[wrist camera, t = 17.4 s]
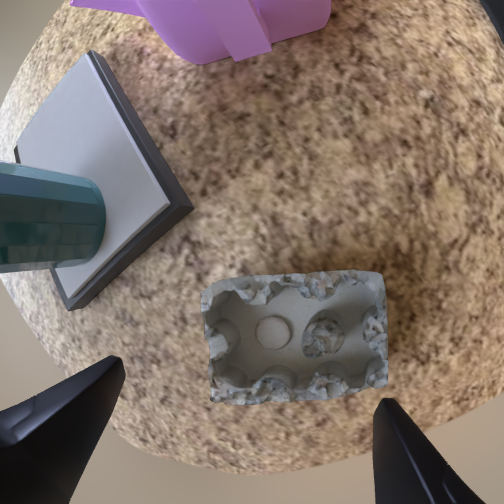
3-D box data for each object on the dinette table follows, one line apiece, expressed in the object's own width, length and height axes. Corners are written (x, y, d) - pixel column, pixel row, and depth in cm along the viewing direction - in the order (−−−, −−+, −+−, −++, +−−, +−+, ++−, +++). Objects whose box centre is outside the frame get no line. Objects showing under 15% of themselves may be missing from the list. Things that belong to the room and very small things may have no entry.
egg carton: (226, 379, 21) (201, 405, 17) (215, 273, 21) (185, 281, 17) (383, 379, 18) (389, 410, 14) (382, 262, 18) (392, 268, 14)
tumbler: (108, 264, 20) (-66, 281, 8) (53, 266, 22) (-85, 279, 10) (106, 168, 20) (-57, 131, 8) (52, 186, 22) (-82, 168, 10)
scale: (83, 308, 25) (62, 313, 22) (26, 152, 27) (9, 148, 25) (195, 208, 21) (175, 204, 19) (103, 56, 24) (86, 46, 21)
